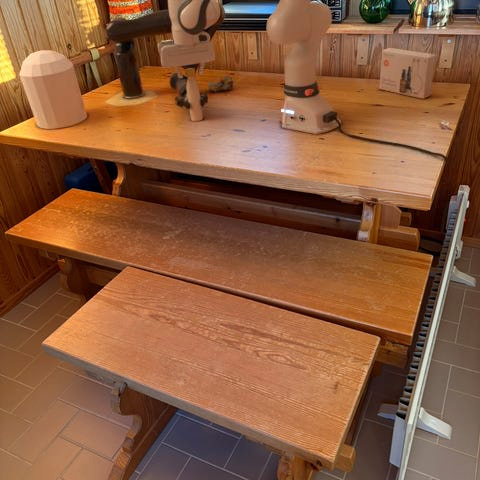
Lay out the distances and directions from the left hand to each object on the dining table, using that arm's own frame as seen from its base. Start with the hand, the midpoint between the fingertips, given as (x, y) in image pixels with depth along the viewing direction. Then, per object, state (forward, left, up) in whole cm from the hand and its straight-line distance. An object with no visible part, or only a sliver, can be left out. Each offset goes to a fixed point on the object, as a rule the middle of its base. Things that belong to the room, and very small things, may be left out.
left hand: (196, 105), depth 178 cm
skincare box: (+44, +72, -6) cm, 85 cm away
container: (-50, -36, -6) cm, 61 cm away
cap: (-2, +1, +13) cm, 13 cm away
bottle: (-2, +1, -6) cm, 7 cm away
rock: (-24, +31, -6) cm, 40 cm away
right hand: (-2, +1, +10) cm, 11 cm away
